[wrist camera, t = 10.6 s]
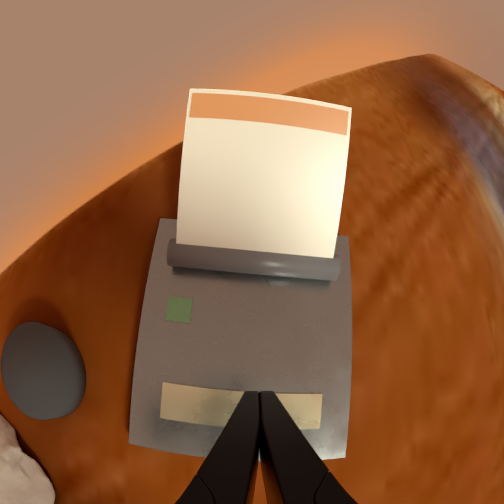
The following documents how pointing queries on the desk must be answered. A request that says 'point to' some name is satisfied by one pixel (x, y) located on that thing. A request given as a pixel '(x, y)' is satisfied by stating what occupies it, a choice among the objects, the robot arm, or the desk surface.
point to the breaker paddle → (261, 184)
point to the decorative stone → (20, 473)
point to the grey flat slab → (239, 352)
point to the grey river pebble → (43, 371)
